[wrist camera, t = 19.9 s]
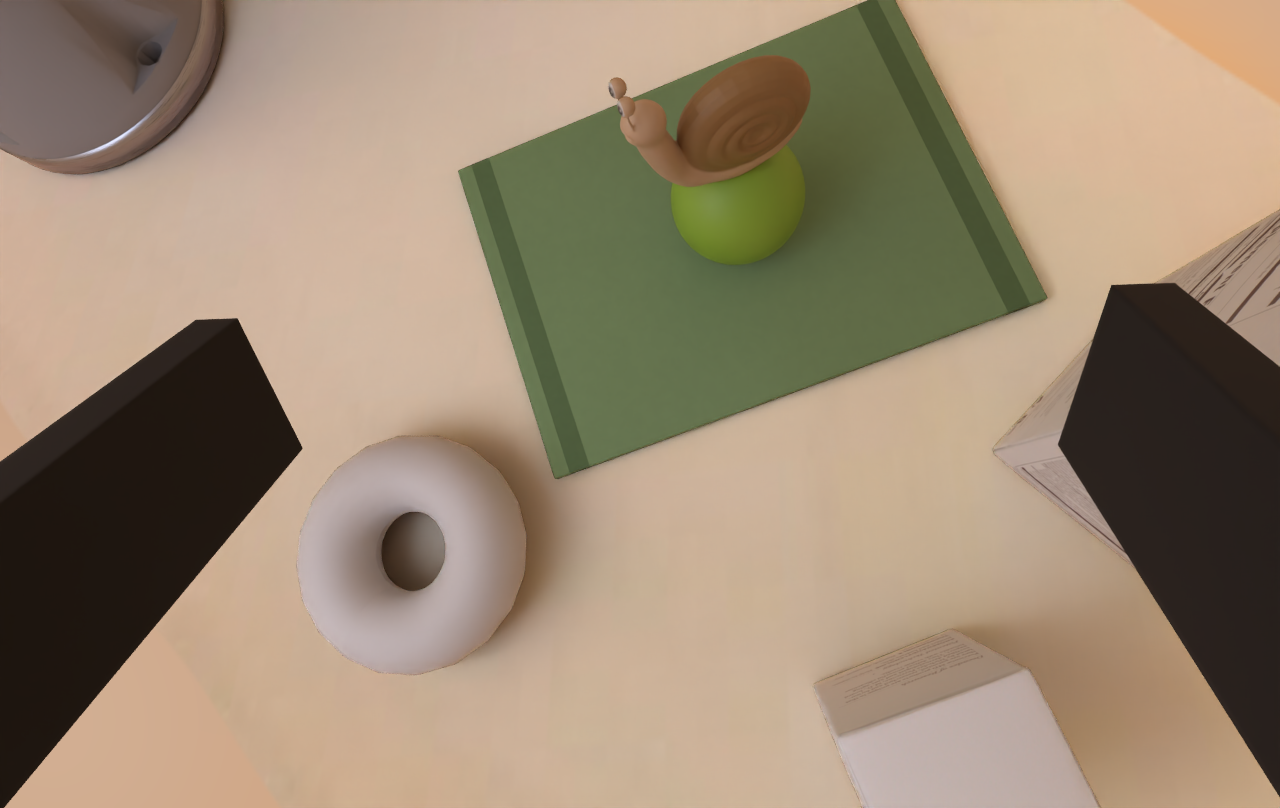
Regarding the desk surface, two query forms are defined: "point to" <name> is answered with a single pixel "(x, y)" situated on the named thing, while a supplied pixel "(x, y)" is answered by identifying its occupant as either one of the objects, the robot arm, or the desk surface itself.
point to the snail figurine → (729, 157)
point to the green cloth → (750, 293)
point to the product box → (950, 731)
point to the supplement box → (1220, 280)
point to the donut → (353, 570)
